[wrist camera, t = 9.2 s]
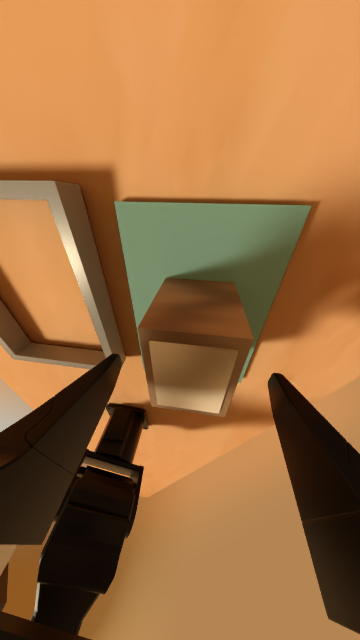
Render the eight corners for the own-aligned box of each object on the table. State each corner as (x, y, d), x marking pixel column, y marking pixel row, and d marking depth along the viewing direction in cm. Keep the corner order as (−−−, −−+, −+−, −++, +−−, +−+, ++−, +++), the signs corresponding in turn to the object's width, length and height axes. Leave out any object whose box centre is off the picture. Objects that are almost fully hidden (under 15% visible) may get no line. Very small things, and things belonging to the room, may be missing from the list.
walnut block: (234, 282, 12) (254, 341, 7) (219, 351, 16) (224, 419, 11) (165, 277, 12) (136, 330, 7) (168, 345, 16) (150, 408, 11)
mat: (240, 379, 18) (240, 382, 18) (145, 367, 19) (144, 370, 19) (307, 205, 9) (311, 205, 9) (117, 201, 10) (114, 201, 10)
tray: (125, 358, 19) (118, 372, 17) (28, 346, 20) (13, 359, 19) (79, 184, 10) (54, 180, 8) (-93, 182, 11) (-144, 179, 9)
